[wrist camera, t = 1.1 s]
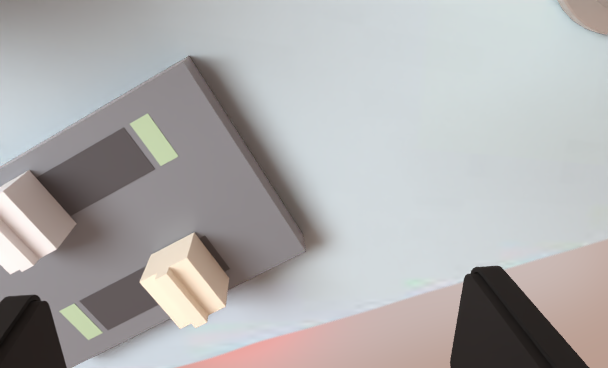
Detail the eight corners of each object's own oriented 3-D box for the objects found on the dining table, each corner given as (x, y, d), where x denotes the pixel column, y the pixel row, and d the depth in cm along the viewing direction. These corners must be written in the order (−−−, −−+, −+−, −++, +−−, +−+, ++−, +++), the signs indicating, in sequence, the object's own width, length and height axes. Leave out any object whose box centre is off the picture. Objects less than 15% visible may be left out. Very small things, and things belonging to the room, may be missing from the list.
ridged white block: (28, 169, 32) (-5, 196, 28) (76, 223, 34) (51, 255, 30) (-16, 195, 33) (-55, 225, 29) (33, 247, 35) (4, 281, 31)
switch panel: (188, 55, 32) (182, 61, 30) (303, 235, 39) (305, 251, 37) (-72, 209, 36) (-96, 225, 33) (75, 349, 42) (64, 371, 40)
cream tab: (194, 232, 35) (184, 264, 31) (229, 278, 37) (224, 313, 33) (150, 254, 36) (136, 289, 32) (187, 298, 38) (178, 336, 34)
